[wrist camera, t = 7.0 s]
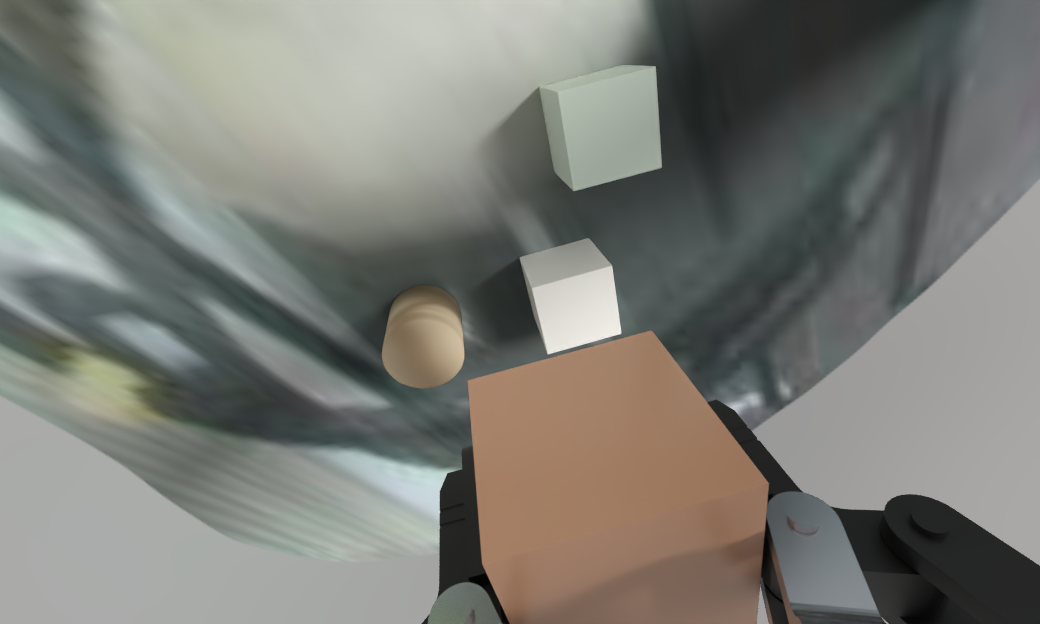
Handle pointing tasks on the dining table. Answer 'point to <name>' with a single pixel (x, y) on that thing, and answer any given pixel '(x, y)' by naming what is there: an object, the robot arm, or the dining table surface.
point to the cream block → (571, 295)
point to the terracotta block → (614, 493)
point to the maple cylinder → (423, 337)
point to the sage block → (603, 125)
